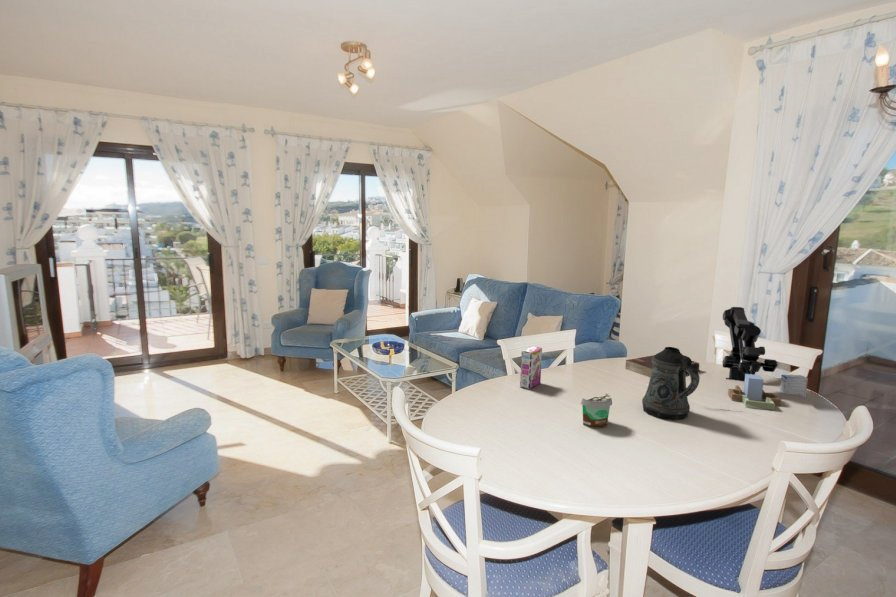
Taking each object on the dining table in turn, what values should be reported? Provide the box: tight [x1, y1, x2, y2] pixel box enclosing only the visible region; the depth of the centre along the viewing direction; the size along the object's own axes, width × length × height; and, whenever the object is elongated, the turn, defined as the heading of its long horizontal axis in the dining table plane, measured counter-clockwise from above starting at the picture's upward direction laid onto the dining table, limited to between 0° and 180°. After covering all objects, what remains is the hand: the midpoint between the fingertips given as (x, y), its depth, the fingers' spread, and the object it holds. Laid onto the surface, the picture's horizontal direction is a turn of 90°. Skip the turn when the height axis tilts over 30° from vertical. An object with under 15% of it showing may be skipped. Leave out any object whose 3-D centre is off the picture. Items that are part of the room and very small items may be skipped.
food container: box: [580, 393, 613, 429], centre depth 169 cm, size 12×6×10 cm, turn 117°
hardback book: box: [625, 354, 700, 378], centre depth 234 cm, size 29×19×5 cm, turn 117°
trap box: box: [727, 385, 782, 411], centre depth 190 cm, size 19×16×4 cm
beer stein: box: [641, 346, 701, 421], centre depth 179 cm, size 16×19×25 cm
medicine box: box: [779, 374, 809, 399], centre depth 199 cm, size 8×4×9 cm, turn 84°
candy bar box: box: [519, 346, 543, 390], centre depth 210 cm, size 11×5×16 cm, turn 144°
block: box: [742, 374, 765, 401], centre depth 192 cm, size 6×5×9 cm
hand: (751, 381), depth 195 cm, fingers closed
